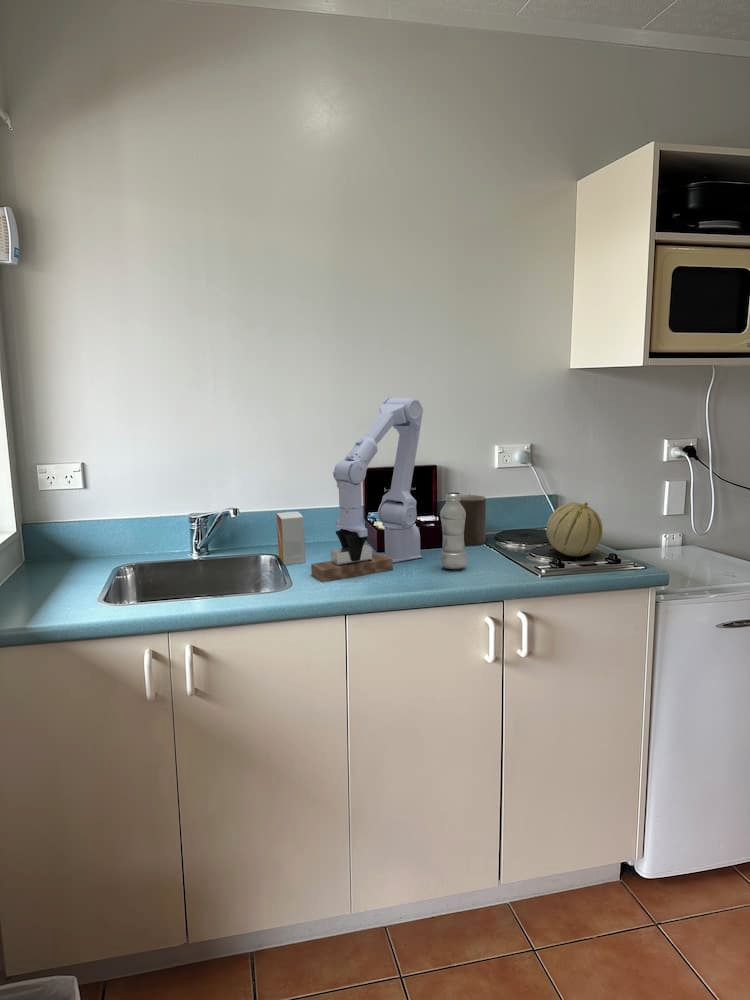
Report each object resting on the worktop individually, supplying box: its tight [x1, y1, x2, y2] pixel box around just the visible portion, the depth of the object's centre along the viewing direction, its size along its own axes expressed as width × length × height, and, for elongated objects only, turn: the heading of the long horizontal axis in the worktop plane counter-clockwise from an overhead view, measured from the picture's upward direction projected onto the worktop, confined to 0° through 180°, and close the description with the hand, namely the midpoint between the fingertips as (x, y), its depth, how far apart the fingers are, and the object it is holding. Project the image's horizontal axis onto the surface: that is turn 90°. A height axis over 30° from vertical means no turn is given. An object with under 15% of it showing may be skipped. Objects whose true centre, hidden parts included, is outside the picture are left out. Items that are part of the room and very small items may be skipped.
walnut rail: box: [310, 552, 394, 583], centre depth 182 cm, size 20×7×3 cm, turn 118°
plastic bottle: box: [439, 491, 467, 570], centre depth 182 cm, size 6×7×20 cm
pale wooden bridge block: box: [330, 544, 373, 566], centre depth 182 cm, size 10×4×6 cm, turn 118°
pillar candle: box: [460, 492, 487, 547], centre depth 210 cm, size 10×10×15 cm
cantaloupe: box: [545, 501, 603, 557], centre depth 192 cm, size 15×15×15 cm
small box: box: [276, 511, 307, 566], centre depth 194 cm, size 8×6×13 cm
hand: (352, 558), depth 182 cm, fingers closed on pale wooden bridge block, 3 cm apart
